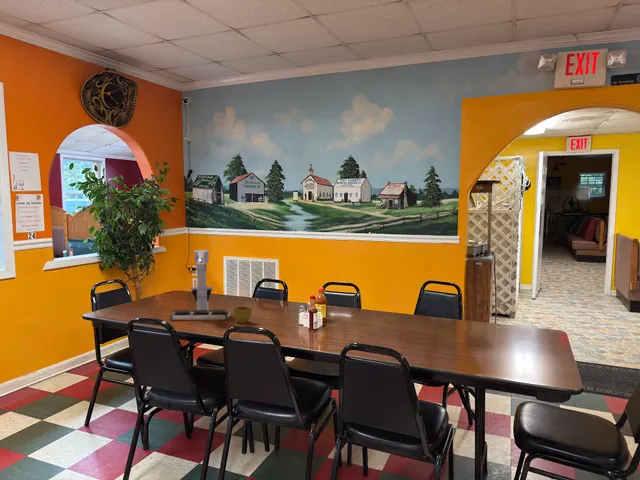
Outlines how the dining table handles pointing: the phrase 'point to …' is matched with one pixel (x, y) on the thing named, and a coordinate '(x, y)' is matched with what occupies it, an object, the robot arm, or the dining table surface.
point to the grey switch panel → (200, 316)
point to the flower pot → (242, 314)
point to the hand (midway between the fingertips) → (202, 300)
